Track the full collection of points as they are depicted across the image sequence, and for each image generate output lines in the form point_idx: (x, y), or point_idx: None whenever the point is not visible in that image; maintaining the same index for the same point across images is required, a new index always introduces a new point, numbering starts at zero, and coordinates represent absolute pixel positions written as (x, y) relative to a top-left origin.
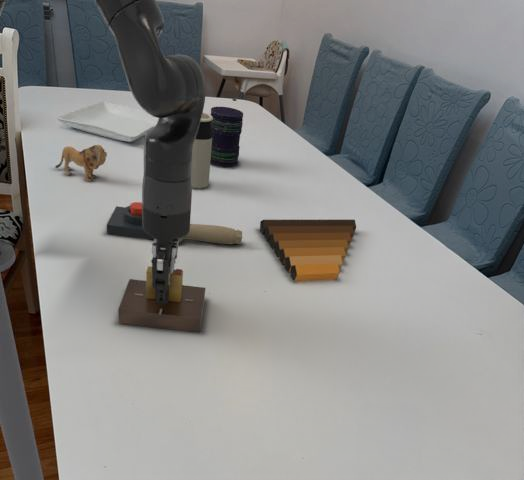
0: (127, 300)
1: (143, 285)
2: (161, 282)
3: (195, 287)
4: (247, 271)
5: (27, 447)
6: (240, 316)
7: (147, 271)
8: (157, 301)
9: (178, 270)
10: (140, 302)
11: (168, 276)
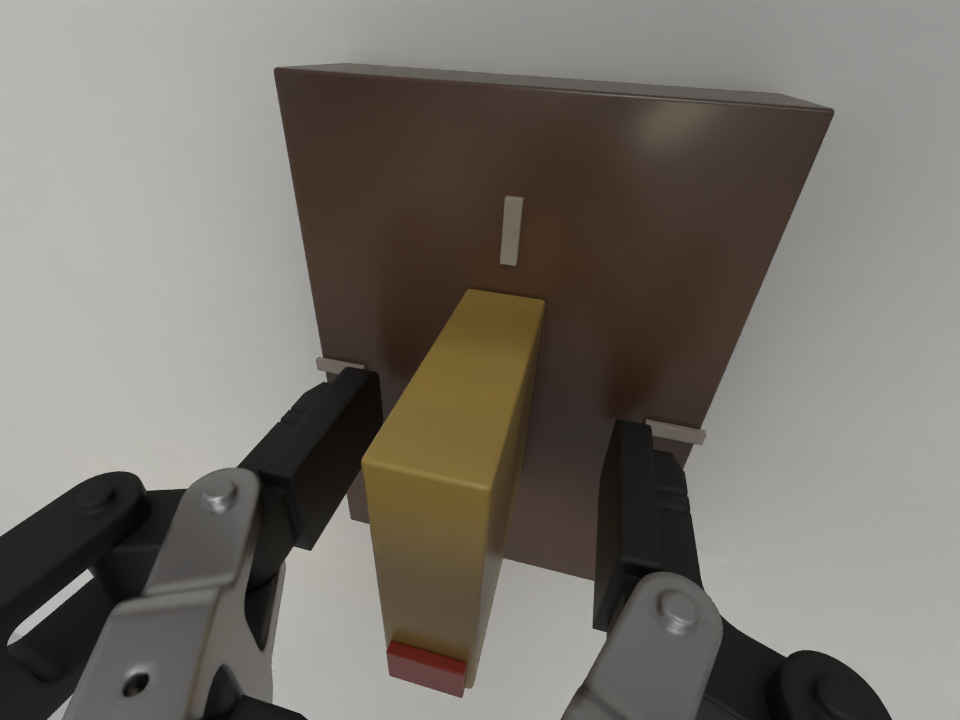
0: (414, 136)
1: (674, 263)
2: (95, 578)
3: None
4: (897, 707)
5: None
6: (516, 590)
7: (365, 469)
8: (310, 392)
9: (436, 679)
10: (414, 245)
11: (71, 683)
